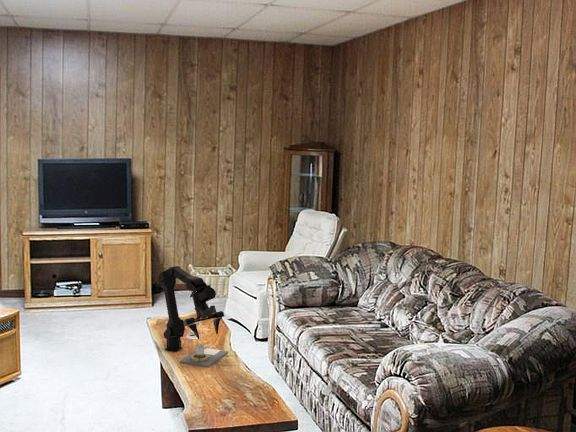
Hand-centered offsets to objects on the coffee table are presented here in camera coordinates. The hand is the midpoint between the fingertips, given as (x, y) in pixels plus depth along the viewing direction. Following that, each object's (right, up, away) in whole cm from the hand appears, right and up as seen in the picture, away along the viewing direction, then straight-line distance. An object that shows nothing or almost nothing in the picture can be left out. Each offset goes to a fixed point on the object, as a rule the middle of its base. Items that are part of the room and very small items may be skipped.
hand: (208, 336), depth 319 cm
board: (-3, -12, +11) cm, 17 cm away
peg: (-5, -12, +6) cm, 14 cm away
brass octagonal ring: (-5, -12, +6) cm, 14 cm away
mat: (-1, -11, +17) cm, 20 cm away
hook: (-13, -9, +44) cm, 47 cm away
